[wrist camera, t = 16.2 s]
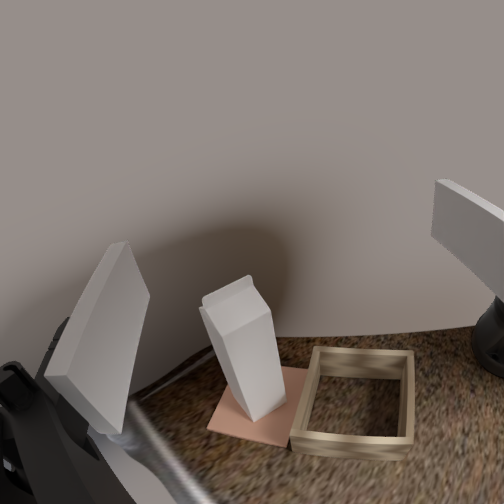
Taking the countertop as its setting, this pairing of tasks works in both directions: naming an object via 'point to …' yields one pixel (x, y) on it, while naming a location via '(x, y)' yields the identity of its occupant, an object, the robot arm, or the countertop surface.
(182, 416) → the countertop surface
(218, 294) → the milk
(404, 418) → the holder
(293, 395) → the mat
